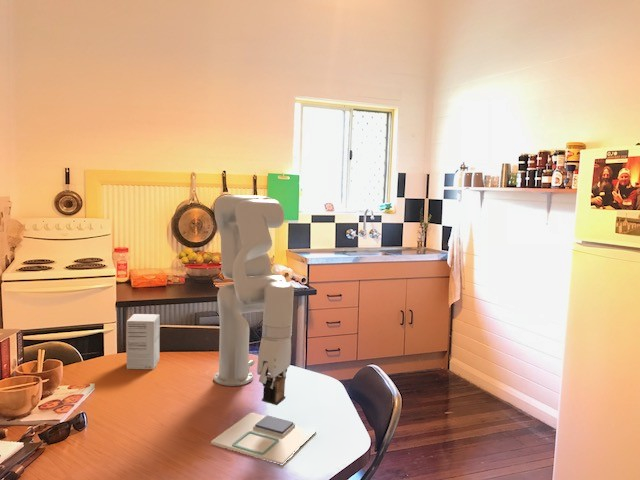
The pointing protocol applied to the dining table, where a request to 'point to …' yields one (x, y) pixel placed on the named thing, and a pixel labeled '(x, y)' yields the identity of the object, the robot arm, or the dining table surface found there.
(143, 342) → the supplement box
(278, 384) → the stamp
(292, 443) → the board
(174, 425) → the dining table surface
